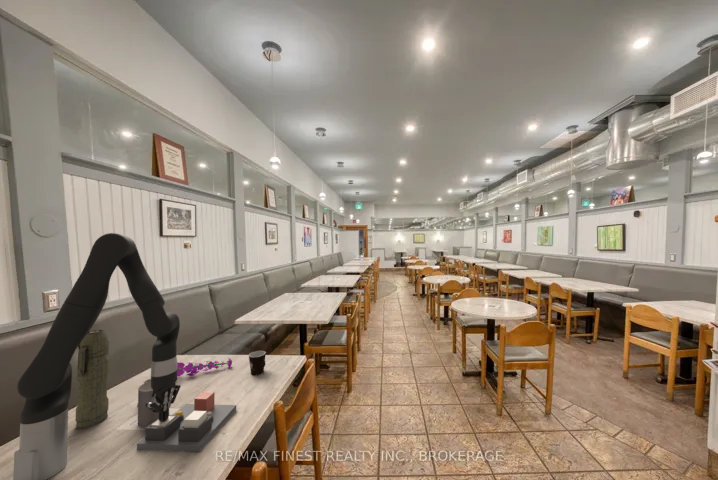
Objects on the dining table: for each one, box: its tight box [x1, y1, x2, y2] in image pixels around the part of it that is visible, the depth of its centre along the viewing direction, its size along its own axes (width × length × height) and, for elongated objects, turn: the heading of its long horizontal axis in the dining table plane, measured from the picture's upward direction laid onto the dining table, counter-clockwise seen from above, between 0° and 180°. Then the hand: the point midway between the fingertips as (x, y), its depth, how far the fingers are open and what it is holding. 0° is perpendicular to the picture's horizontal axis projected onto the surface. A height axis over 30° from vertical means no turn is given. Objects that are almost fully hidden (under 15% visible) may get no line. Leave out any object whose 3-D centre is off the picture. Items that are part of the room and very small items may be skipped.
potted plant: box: [177, 357, 233, 378], centre depth 138 cm, size 12×16×35 cm
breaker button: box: [184, 411, 207, 428], centre depth 89 cm, size 5×5×4 cm
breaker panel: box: [136, 403, 237, 453], centre depth 95 cm, size 22×22×6 cm
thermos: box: [75, 329, 110, 430], centre depth 101 cm, size 9×12×35 cm
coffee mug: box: [248, 350, 267, 376], centre depth 137 cm, size 12×9×10 cm
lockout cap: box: [193, 391, 216, 413], centre depth 102 cm, size 5×5×6 cm
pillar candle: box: [137, 381, 162, 428], centre depth 101 cm, size 10×10×15 cm
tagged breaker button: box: [151, 416, 175, 427], centre depth 90 cm, size 5×5×4 cm
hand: (163, 420), depth 90 cm, fingers closed
